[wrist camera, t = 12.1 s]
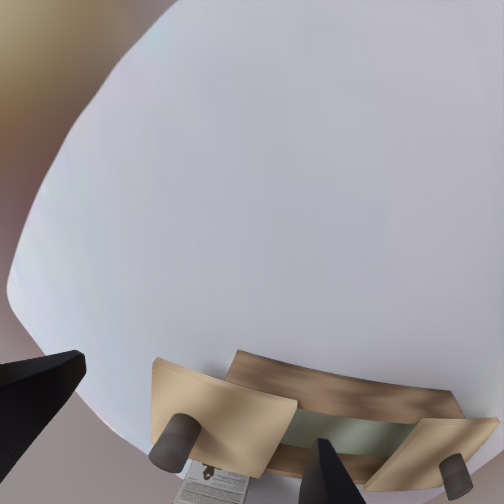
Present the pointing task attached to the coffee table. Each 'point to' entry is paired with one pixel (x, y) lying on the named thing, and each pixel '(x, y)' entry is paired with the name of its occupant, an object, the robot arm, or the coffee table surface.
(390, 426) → the walnut box
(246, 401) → the lid
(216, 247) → the coffee table surface
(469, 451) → the lid
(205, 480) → the coffee box
